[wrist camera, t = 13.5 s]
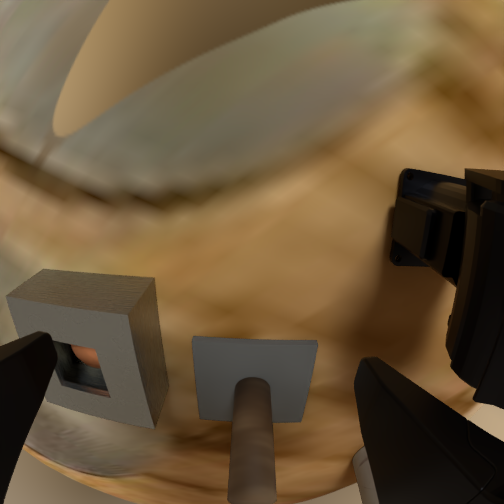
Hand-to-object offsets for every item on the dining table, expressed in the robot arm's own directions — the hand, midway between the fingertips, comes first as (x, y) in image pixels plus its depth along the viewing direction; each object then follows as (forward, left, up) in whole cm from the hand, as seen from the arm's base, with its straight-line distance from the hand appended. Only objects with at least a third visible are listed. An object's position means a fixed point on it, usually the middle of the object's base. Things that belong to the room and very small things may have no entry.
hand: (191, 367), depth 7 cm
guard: (+10, +8, -12) cm, 18 cm away
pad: (-2, +12, -12) cm, 17 cm away
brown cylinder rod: (-2, +12, -11) cm, 17 cm away
